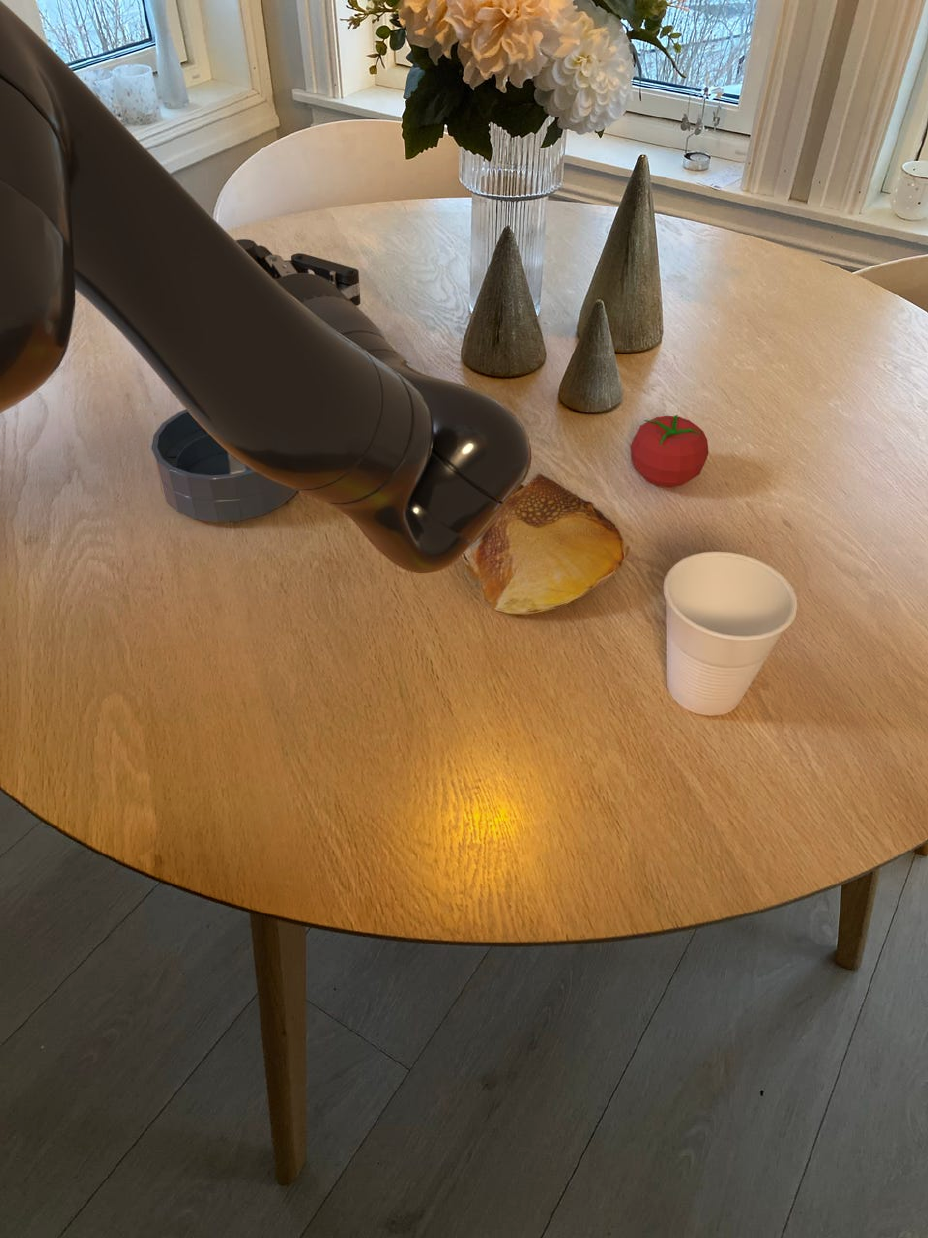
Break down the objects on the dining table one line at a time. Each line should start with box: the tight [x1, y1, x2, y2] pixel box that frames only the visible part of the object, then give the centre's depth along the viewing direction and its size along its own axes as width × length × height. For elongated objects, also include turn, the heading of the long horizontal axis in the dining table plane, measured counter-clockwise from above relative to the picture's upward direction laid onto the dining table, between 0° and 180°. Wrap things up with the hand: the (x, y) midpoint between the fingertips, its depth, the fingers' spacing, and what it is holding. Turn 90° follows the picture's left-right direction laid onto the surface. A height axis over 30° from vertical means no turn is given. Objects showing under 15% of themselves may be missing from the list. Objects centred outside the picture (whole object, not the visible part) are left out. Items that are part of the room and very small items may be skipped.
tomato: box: [630, 414, 710, 488], centre depth 99 cm, size 8×8×8 cm
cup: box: [663, 551, 798, 717], centre depth 76 cm, size 10×10×11 cm
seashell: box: [461, 473, 631, 616], centre depth 90 cm, size 17×8×15 cm
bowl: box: [150, 408, 298, 523], centre depth 97 cm, size 14×14×6 cm
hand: (232, 256), depth 74 cm, fingers closed
